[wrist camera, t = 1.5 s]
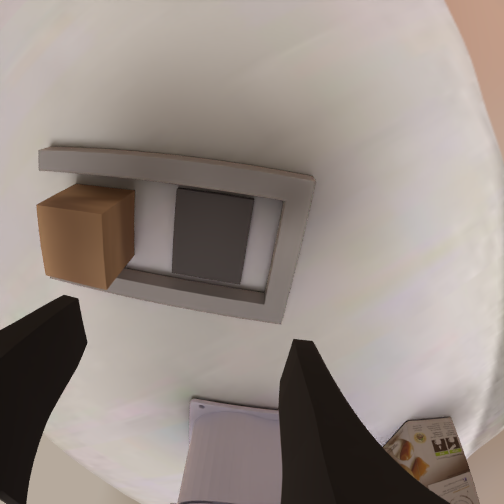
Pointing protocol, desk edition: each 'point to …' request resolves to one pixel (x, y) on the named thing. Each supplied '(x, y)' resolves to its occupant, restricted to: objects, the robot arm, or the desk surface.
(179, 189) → the pad
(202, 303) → the guide channel
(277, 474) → the robot arm
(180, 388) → the desk surface
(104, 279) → the walnut block
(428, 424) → the coffee box
